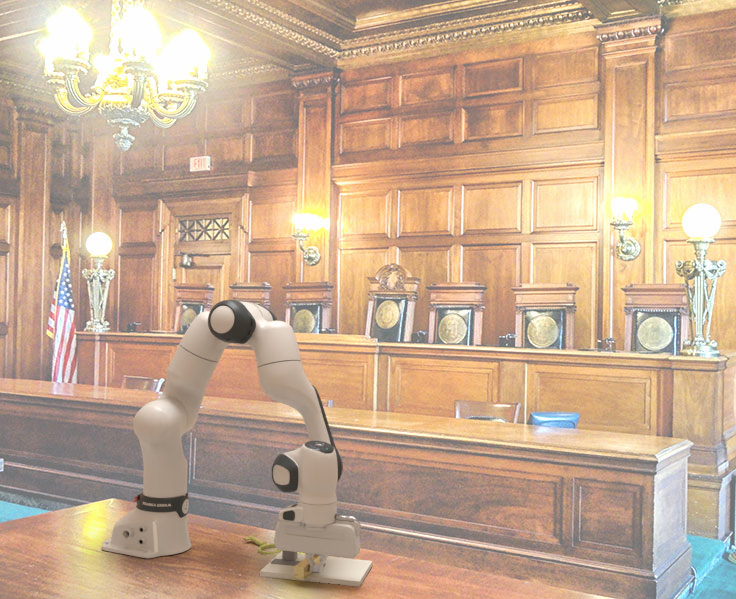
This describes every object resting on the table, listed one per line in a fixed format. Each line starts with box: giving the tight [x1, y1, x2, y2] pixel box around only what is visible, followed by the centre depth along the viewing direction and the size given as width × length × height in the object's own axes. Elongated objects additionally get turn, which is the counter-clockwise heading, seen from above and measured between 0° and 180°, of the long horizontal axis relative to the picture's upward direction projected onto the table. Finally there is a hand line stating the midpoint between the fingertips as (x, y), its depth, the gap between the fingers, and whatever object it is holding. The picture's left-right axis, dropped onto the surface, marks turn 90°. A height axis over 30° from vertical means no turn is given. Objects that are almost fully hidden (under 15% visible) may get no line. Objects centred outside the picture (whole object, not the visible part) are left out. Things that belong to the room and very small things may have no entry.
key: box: [243, 534, 282, 555], centre depth 209 cm, size 7×12×2 cm, turn 60°
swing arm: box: [294, 554, 326, 581], centre depth 188 cm, size 13×4×4 cm, turn 161°
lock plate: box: [259, 550, 374, 588], centre depth 193 cm, size 24×15×4 cm, turn 78°
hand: (316, 572), depth 184 cm, fingers closed
